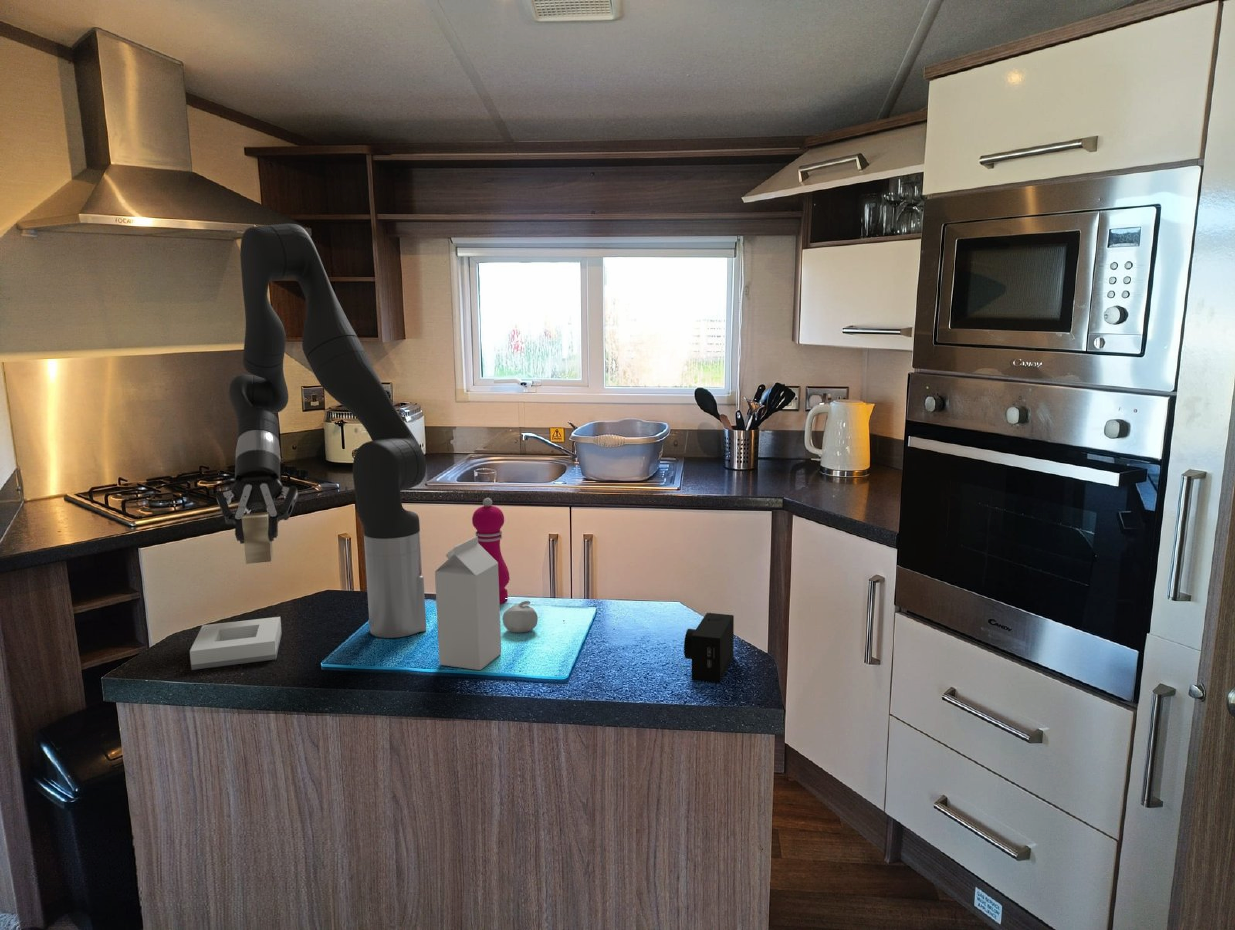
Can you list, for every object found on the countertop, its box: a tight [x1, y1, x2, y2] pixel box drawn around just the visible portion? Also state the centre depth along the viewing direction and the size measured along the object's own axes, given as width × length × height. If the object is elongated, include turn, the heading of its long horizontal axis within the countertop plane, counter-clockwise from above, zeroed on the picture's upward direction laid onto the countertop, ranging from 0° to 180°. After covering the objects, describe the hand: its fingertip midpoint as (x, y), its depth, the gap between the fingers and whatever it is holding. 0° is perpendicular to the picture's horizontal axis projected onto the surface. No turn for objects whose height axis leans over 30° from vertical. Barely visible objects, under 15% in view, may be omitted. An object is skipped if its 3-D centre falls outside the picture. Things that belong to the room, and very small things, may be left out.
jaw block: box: [242, 511, 274, 565], centre depth 141 cm, size 4×4×8 cm
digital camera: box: [683, 612, 735, 685], centre depth 122 cm, size 10×5×7 cm, turn 161°
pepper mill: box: [471, 497, 510, 605], centre depth 153 cm, size 7×7×20 cm
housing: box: [189, 616, 283, 671], centre depth 131 cm, size 12×12×3 cm
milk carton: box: [434, 535, 502, 671], centre depth 125 cm, size 7×7×19 cm
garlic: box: [502, 600, 539, 634], centre depth 138 cm, size 6×5×5 cm
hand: (256, 539), depth 139 cm, fingers closed on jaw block, 4 cm apart
